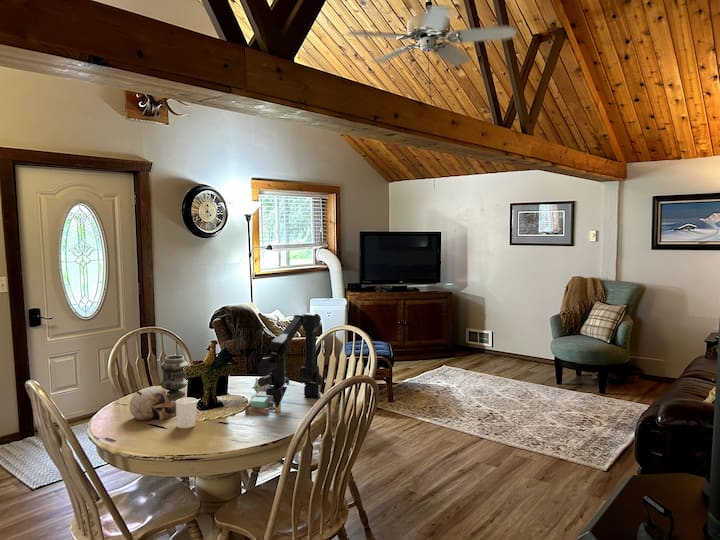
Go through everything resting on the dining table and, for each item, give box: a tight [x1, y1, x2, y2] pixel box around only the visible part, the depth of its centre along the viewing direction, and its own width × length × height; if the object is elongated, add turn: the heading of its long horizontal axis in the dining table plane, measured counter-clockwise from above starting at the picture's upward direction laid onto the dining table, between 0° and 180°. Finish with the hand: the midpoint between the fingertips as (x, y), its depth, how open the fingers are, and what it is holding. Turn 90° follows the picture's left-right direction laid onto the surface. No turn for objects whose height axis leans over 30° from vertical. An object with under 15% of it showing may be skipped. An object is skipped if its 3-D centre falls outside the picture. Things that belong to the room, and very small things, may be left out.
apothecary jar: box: [160, 354, 189, 399], centre depth 238 cm, size 12×12×18 cm
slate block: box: [256, 391, 272, 402], centre depth 228 cm, size 6×6×5 cm
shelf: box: [244, 392, 275, 416], centre depth 224 cm, size 10×18×4 cm, turn 176°
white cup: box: [175, 397, 198, 429], centre depth 201 cm, size 8×8×10 cm
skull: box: [129, 385, 176, 421], centre depth 210 cm, size 16×17×13 cm
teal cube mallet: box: [249, 396, 282, 413], centre depth 220 cm, size 12×6×8 cm, turn 86°
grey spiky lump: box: [251, 378, 270, 393], centre depth 242 cm, size 9×8×10 cm
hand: (277, 405), depth 219 cm, fingers closed on teal cube mallet, 2 cm apart
